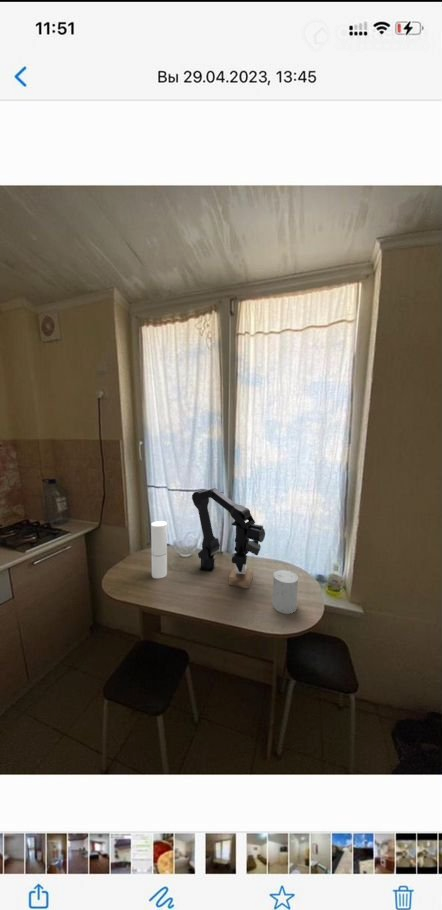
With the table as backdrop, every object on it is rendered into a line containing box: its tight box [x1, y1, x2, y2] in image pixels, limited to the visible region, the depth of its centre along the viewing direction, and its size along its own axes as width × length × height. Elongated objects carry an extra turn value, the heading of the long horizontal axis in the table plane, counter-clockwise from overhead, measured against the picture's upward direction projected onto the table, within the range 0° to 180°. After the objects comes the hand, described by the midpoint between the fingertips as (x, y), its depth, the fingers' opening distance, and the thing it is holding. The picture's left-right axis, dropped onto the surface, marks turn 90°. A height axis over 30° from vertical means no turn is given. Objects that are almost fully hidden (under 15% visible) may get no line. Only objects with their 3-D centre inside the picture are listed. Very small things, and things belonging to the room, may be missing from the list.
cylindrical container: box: [150, 520, 168, 579], centre depth 118 cm, size 7×7×25 cm
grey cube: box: [235, 561, 248, 574], centre depth 114 cm, size 5×5×5 cm
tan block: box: [228, 566, 254, 589], centre depth 115 cm, size 9×9×4 cm
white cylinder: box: [271, 568, 299, 615], centre depth 99 cm, size 10×10×12 cm
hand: (241, 568), depth 114 cm, fingers closed on grey cube, 4 cm apart
